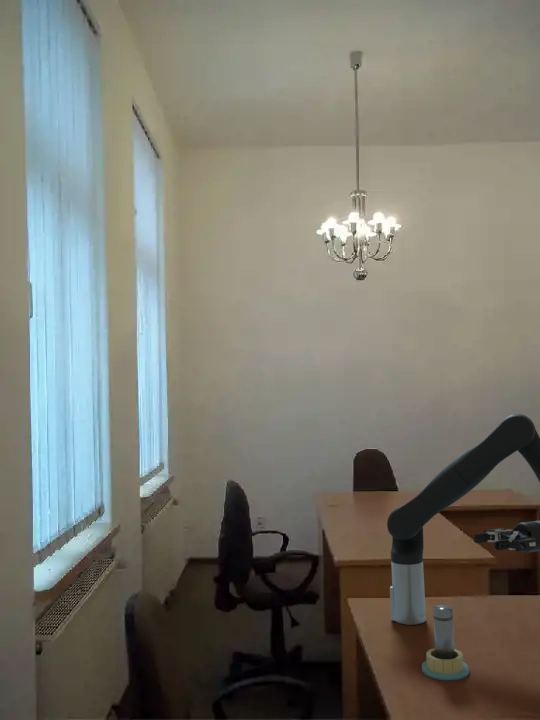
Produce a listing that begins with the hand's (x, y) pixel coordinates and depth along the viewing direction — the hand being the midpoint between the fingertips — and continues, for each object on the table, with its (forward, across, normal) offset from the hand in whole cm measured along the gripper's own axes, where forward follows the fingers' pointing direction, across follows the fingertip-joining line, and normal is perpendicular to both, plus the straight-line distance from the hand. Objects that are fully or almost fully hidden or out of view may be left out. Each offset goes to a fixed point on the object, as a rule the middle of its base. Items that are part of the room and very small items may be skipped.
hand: (484, 542), depth 178 cm
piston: (+15, +3, +28) cm, 31 cm away
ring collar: (+15, +3, +29) cm, 32 cm away
